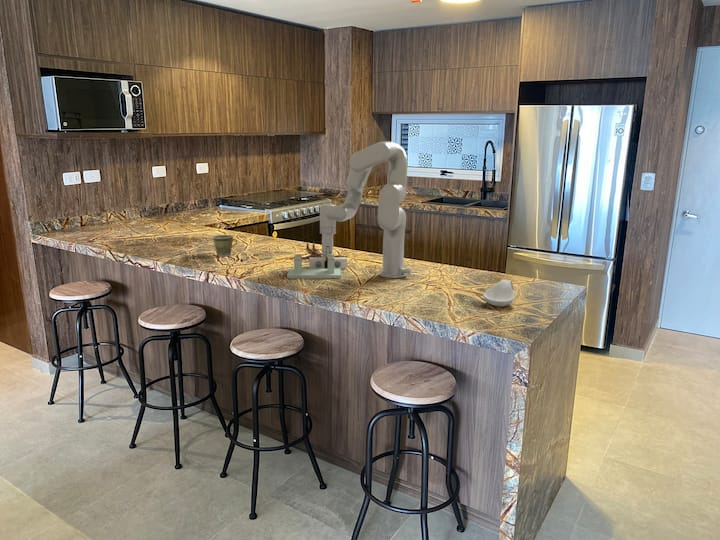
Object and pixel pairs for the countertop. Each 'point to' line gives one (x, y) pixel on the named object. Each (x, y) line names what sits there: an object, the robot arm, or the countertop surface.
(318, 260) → the cream rectangular beam
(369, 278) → the countertop surface
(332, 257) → the display stand
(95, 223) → the countertop surface
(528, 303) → the countertop surface
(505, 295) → the spoon rest
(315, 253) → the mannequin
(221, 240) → the ceramic cup
